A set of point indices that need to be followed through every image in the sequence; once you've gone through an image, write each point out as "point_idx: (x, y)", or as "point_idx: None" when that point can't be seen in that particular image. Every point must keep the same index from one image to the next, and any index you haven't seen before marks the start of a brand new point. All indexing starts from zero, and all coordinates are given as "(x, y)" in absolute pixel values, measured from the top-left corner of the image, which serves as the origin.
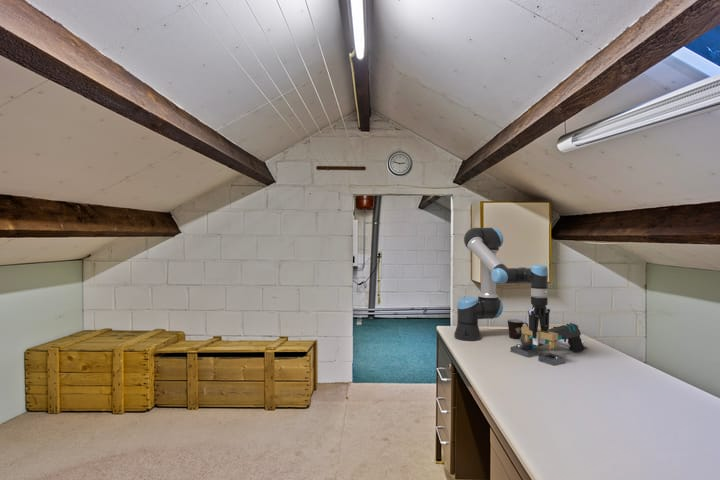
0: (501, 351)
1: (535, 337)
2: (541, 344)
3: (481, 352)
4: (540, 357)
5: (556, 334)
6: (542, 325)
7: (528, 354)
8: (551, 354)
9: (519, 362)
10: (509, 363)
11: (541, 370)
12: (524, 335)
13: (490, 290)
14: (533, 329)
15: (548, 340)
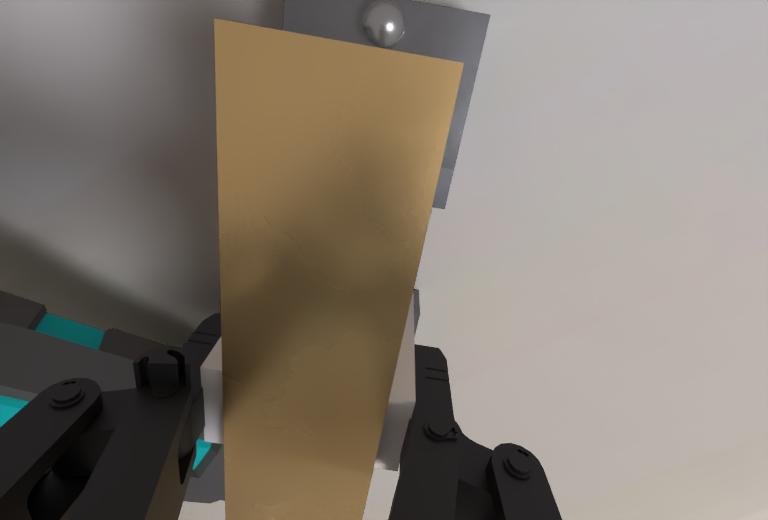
0: None
1: (431, 356)
2: (139, 342)
3: (556, 503)
4: (449, 181)
5: (288, 33)
6: (167, 496)
7: (414, 301)
8: None
9: (608, 264)
10: (692, 297)
11: (735, 7)
12: (207, 496)
13: None
14: (534, 478)
15: (45, 330)
